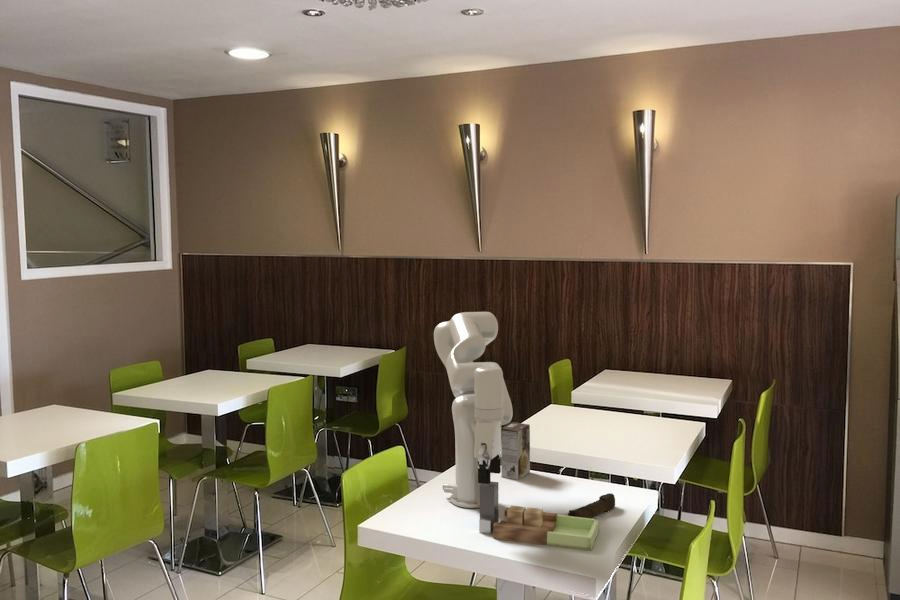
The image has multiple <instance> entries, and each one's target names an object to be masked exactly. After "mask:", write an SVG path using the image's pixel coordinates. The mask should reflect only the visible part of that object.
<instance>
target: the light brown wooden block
mask: <svg viewBox="0 0 900 600" xmlns="http://www.w3.org/2000/svg"><path fill="white" fill-rule="evenodd" d="M543 512H544V511H543V508H537V507H528V506H527V507H526V510H525V512H524V526H531V527H541V526H542V524H543Z"/></svg>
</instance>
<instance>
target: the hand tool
mask: <svg viewBox="0 0 900 600" xmlns="http://www.w3.org/2000/svg"><path fill="white" fill-rule="evenodd" d="M615 507H616V498H615V495H614V493H606V494H601V495H600V496H599V497H598V499H597V500H596V501H594V502H591V503H588V504H586V505H584V506H580V507H579V508H578V507H577V508H576V509H574V510H573V509H572V510H571V509H570V510H569V511H568V515H567V516H573V517H582V518H592V517H596V516H597V515H599V514H601V513H604V512H607V513H609V512H611V511H612V510H613V509H615ZM610 510H611V511H610ZM608 511H609V512H608Z"/></svg>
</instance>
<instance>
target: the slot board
mask: <svg viewBox="0 0 900 600" xmlns="http://www.w3.org/2000/svg"><path fill="white" fill-rule="evenodd" d="M509 508H510V507H506V508H505V509H504V516H502V518H501V520H499V523H498V522H495V523H494V525H493V531H492V534H493V535H492V536H493V539H495V540H496V539H497V540H505V541H511V542H513V541H514V542H519V541H520V542H521V543H527V544H529V543H530V544H537V545H543V546H544V545H545V546H548V545H547V532H548V531H550V532H553V531H554V529H555V527H556V526H557V515H558V513H556V512H545V511H543V524H542V526H541V527H531V526H524V525H515V524H507V510H508V509H509Z"/></svg>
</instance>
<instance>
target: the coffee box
mask: <svg viewBox="0 0 900 600" xmlns="http://www.w3.org/2000/svg"><path fill="white" fill-rule="evenodd" d="M530 428H531V427H530V424H528V423H522V422H516V421H513V422H509V423H508V424H506V426H505V425H504V427H501V451H500V454H501V457H500V459H501V477H502V478H504V479H505V478H506V479H511V480H520V479H521V478H523V477H525V476H526V475H528V474H530V472H531V439H530V438H531V437H530V436H531V435H530V434H531V433H530V432H531V430H530Z"/></svg>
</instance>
